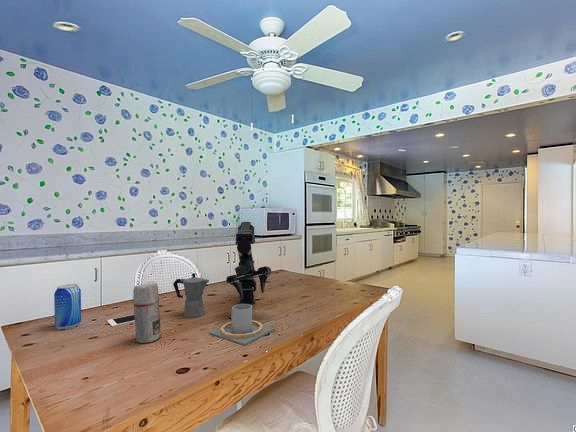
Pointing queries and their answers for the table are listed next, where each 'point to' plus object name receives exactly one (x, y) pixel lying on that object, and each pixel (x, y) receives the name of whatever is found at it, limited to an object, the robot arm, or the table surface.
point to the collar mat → (242, 339)
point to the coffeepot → (192, 295)
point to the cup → (241, 318)
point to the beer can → (67, 306)
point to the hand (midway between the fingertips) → (252, 295)
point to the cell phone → (122, 320)
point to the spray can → (146, 312)
